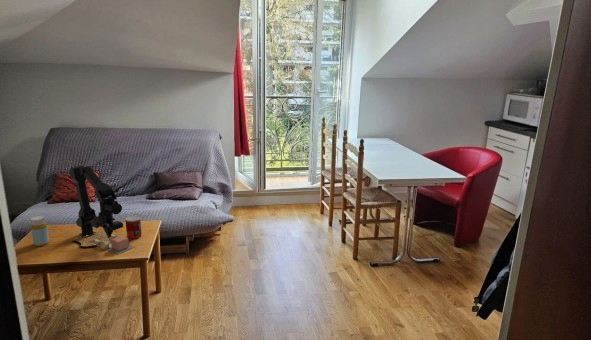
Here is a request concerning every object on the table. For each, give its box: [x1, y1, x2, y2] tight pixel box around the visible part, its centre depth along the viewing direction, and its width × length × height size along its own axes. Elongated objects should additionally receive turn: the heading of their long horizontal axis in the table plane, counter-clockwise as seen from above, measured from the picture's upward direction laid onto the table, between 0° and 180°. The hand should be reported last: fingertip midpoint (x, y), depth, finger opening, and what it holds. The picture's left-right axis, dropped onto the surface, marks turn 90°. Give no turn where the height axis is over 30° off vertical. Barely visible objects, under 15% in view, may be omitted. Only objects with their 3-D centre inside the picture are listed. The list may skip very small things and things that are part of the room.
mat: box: [107, 244, 135, 255], centre depth 216 cm, size 8×10×1 cm
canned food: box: [125, 215, 142, 240], centre depth 230 cm, size 8×8×11 cm
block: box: [111, 235, 130, 251], centre depth 215 cm, size 6×6×5 cm
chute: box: [92, 233, 119, 251], centre depth 221 cm, size 12×10×3 cm
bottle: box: [30, 215, 50, 248], centre depth 218 cm, size 7×7×15 cm
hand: (109, 237), depth 220 cm, fingers closed
